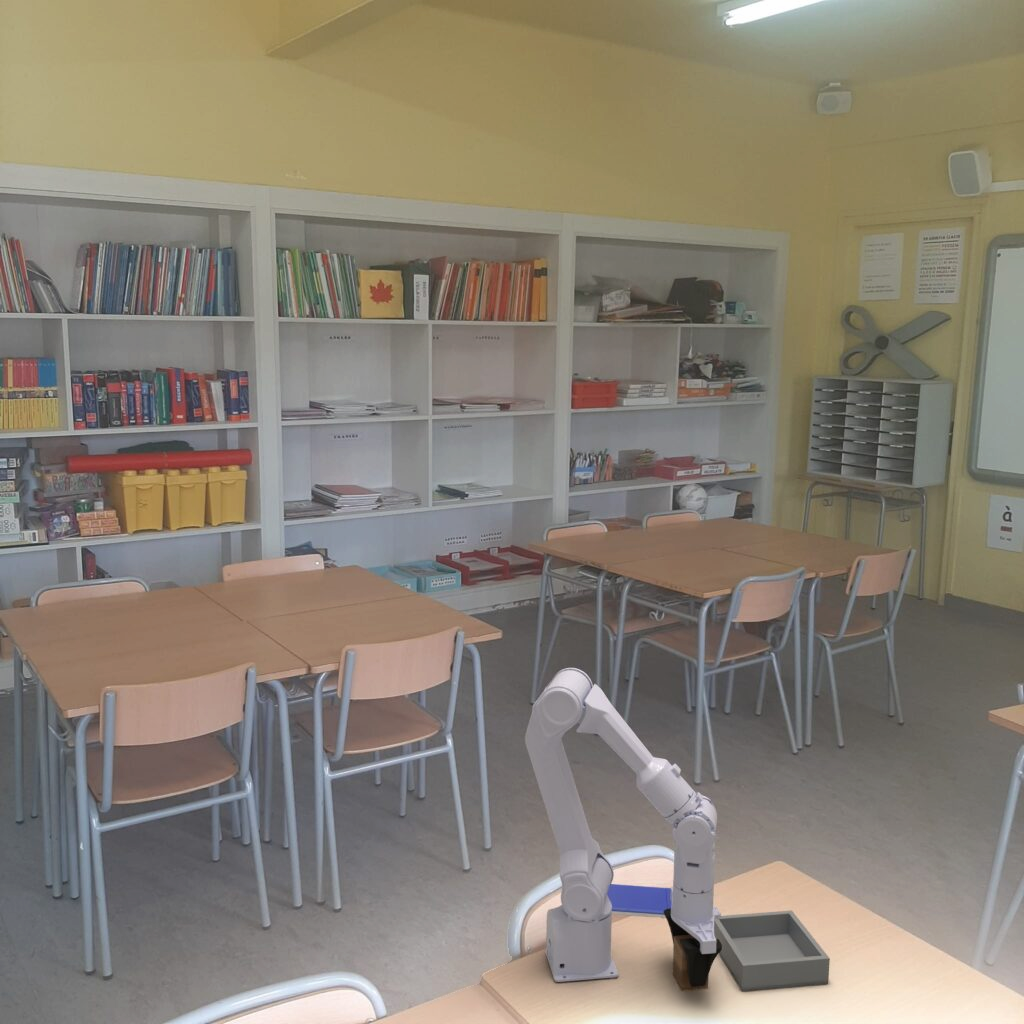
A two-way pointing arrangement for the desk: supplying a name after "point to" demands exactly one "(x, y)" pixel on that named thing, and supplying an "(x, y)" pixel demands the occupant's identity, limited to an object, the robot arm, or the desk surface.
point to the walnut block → (682, 965)
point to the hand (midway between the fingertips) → (690, 971)
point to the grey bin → (770, 951)
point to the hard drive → (639, 900)
